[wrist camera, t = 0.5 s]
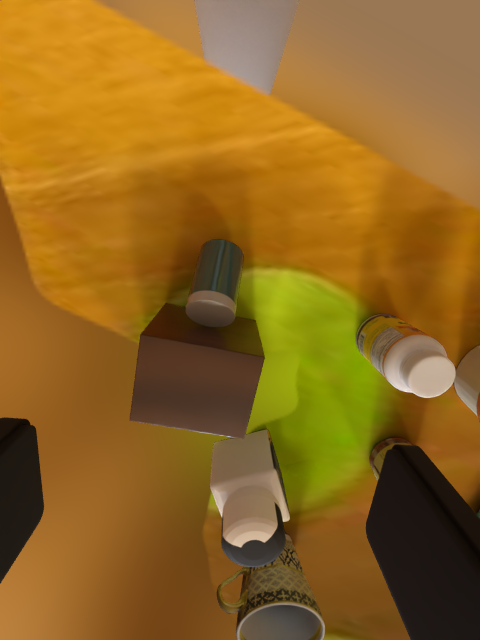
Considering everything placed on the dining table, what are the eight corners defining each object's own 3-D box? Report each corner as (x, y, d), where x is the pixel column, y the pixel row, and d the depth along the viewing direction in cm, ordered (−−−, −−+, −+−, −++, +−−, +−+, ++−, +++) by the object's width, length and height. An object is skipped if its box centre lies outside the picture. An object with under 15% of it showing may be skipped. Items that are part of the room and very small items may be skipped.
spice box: (165, 302, 34) (140, 334, 25) (256, 320, 35) (265, 357, 26) (155, 369, 37) (129, 421, 27) (240, 384, 38) (244, 439, 28)
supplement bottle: (412, 335, 36) (479, 377, 27) (373, 367, 37) (424, 419, 28) (383, 301, 35) (442, 332, 25) (343, 335, 36) (385, 377, 26)
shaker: (204, 232, 32) (194, 240, 25) (246, 242, 33) (250, 252, 25) (191, 305, 35) (179, 333, 27) (231, 313, 35) (230, 342, 27)
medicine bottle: (281, 472, 42) (300, 568, 30) (228, 485, 42) (227, 585, 30) (268, 427, 39) (283, 512, 28) (212, 441, 40) (205, 530, 28)
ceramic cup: (318, 534, 45) (342, 619, 35) (283, 580, 47) (297, 671, 38) (236, 502, 43) (237, 583, 33) (204, 552, 45) (196, 641, 36)
